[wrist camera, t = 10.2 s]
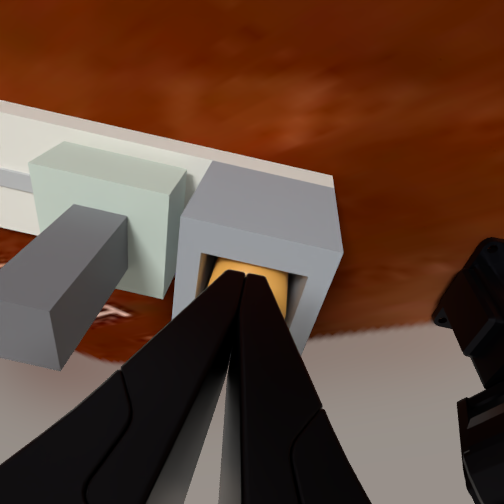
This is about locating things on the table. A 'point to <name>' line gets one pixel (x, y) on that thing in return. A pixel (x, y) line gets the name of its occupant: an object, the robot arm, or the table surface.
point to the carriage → (87, 247)
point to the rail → (199, 206)
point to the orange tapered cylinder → (273, 276)
